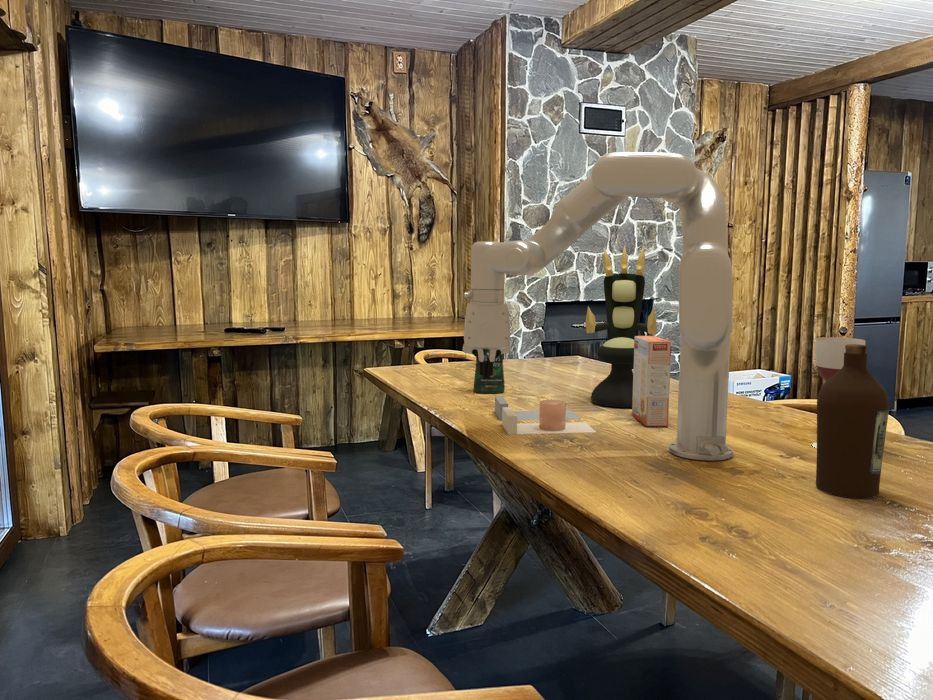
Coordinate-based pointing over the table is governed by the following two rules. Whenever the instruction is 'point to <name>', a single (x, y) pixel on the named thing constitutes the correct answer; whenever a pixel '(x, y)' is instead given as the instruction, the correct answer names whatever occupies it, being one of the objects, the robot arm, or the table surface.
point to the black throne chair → (620, 330)
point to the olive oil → (851, 429)
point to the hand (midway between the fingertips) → (485, 378)
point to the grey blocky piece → (525, 415)
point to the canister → (552, 415)
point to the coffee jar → (496, 379)
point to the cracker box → (651, 380)
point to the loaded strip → (537, 425)
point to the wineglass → (831, 356)
